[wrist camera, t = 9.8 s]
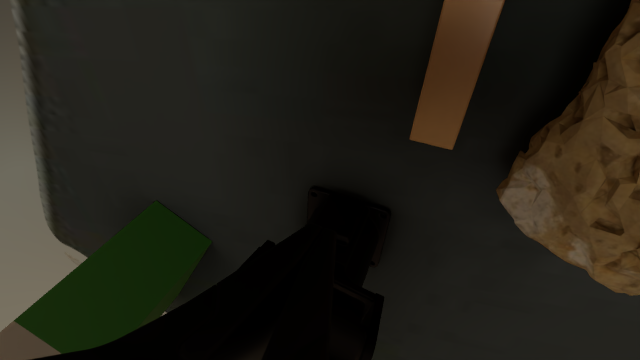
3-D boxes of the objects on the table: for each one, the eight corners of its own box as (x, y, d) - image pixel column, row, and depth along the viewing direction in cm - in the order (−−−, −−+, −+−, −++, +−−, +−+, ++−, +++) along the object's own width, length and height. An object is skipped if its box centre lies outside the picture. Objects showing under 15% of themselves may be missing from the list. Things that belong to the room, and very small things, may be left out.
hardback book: (178, 295, 50) (3, 505, 32) (135, 264, 49) (-67, 460, 32) (211, 241, 38) (-37, 528, 20) (156, 200, 37) (-149, 457, 20)
